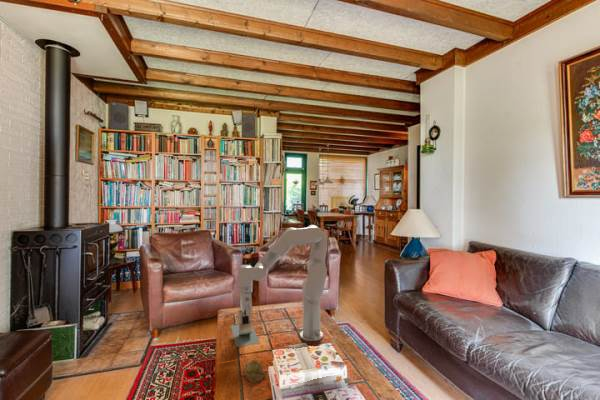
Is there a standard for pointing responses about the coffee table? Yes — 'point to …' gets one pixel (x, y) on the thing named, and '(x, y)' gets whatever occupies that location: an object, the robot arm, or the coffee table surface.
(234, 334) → the rubber mat
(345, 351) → the coffee table surface
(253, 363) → the dark olive rounded lump
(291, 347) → the fossil replica
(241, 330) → the maple block
